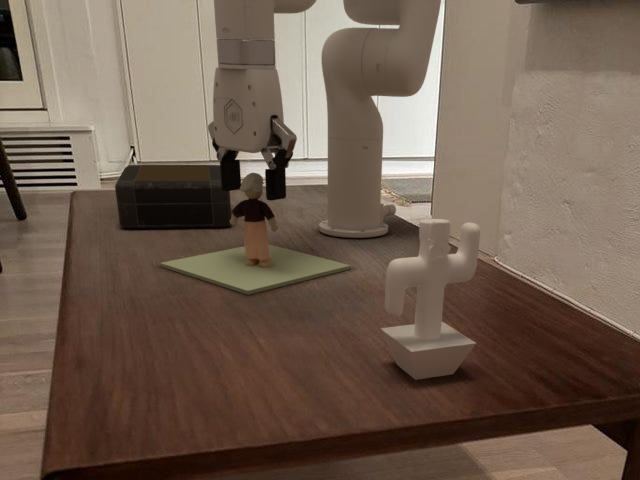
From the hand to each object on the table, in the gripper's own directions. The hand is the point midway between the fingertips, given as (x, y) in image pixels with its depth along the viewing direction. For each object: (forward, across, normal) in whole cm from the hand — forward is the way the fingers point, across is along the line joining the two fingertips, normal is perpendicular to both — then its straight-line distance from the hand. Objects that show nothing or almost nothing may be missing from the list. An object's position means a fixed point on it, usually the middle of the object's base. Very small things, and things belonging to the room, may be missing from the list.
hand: (253, 194), depth 105 cm
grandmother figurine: (+10, 0, 0) cm, 10 cm away
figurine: (+10, +43, -14) cm, 47 cm away
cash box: (+11, -40, +14) cm, 44 cm away
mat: (+10, 0, 0) cm, 10 cm away
